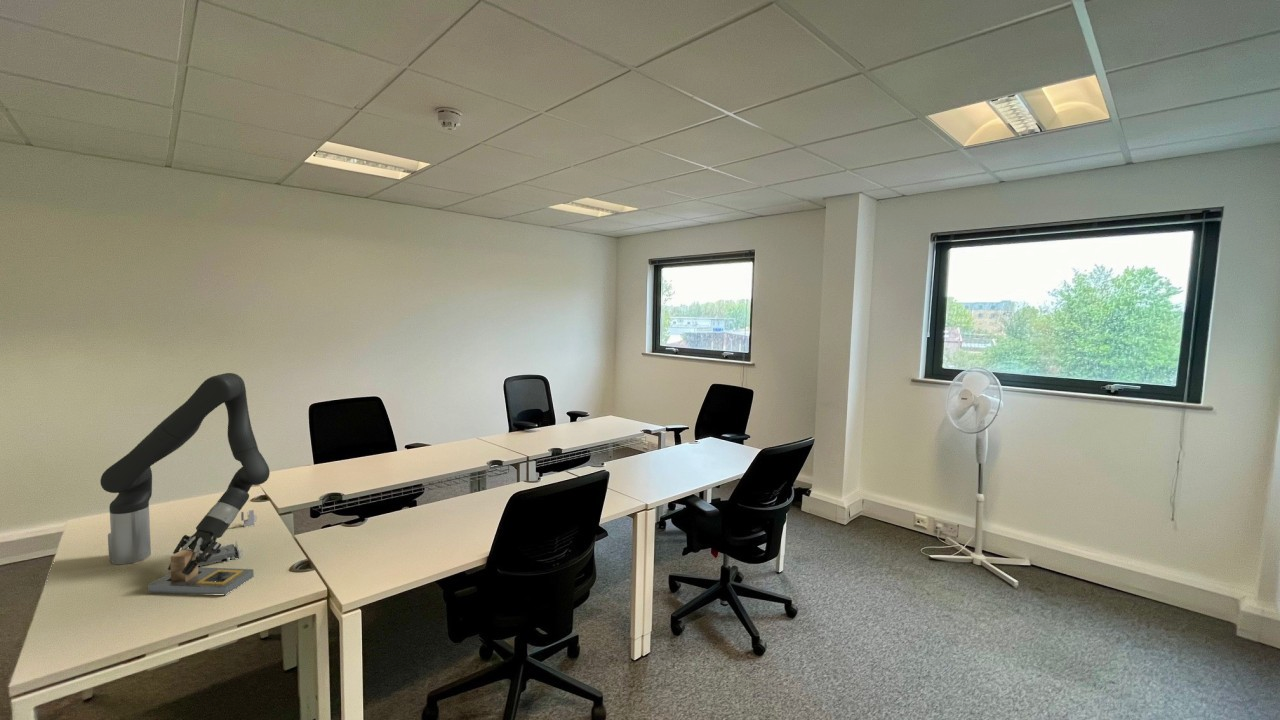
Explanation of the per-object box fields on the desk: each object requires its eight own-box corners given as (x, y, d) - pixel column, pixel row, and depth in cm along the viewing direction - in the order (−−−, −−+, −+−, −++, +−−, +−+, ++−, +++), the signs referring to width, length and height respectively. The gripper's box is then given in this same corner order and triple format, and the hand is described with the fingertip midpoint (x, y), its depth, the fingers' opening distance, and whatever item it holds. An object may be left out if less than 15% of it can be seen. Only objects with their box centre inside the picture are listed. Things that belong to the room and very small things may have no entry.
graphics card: (239, 537, 181) (242, 549, 172) (239, 547, 181) (243, 559, 172) (176, 551, 169) (176, 564, 160) (176, 562, 169) (176, 575, 161)
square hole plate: (148, 592, 150) (147, 583, 149) (181, 574, 160) (181, 565, 160) (225, 595, 150) (225, 586, 149) (253, 576, 161) (253, 568, 160)
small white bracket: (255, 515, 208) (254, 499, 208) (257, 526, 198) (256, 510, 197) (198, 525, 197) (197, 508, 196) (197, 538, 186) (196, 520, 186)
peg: (171, 587, 153) (170, 556, 152) (184, 579, 157) (183, 549, 156) (185, 588, 153) (184, 556, 152) (198, 580, 157) (197, 549, 156)
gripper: (192, 511, 162) (150, 564, 152) (226, 517, 159) (184, 572, 148) (211, 521, 168) (171, 572, 157) (243, 527, 164) (205, 580, 154)
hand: (178, 572), depth 153 cm, fingers closed on peg, 5 cm apart
